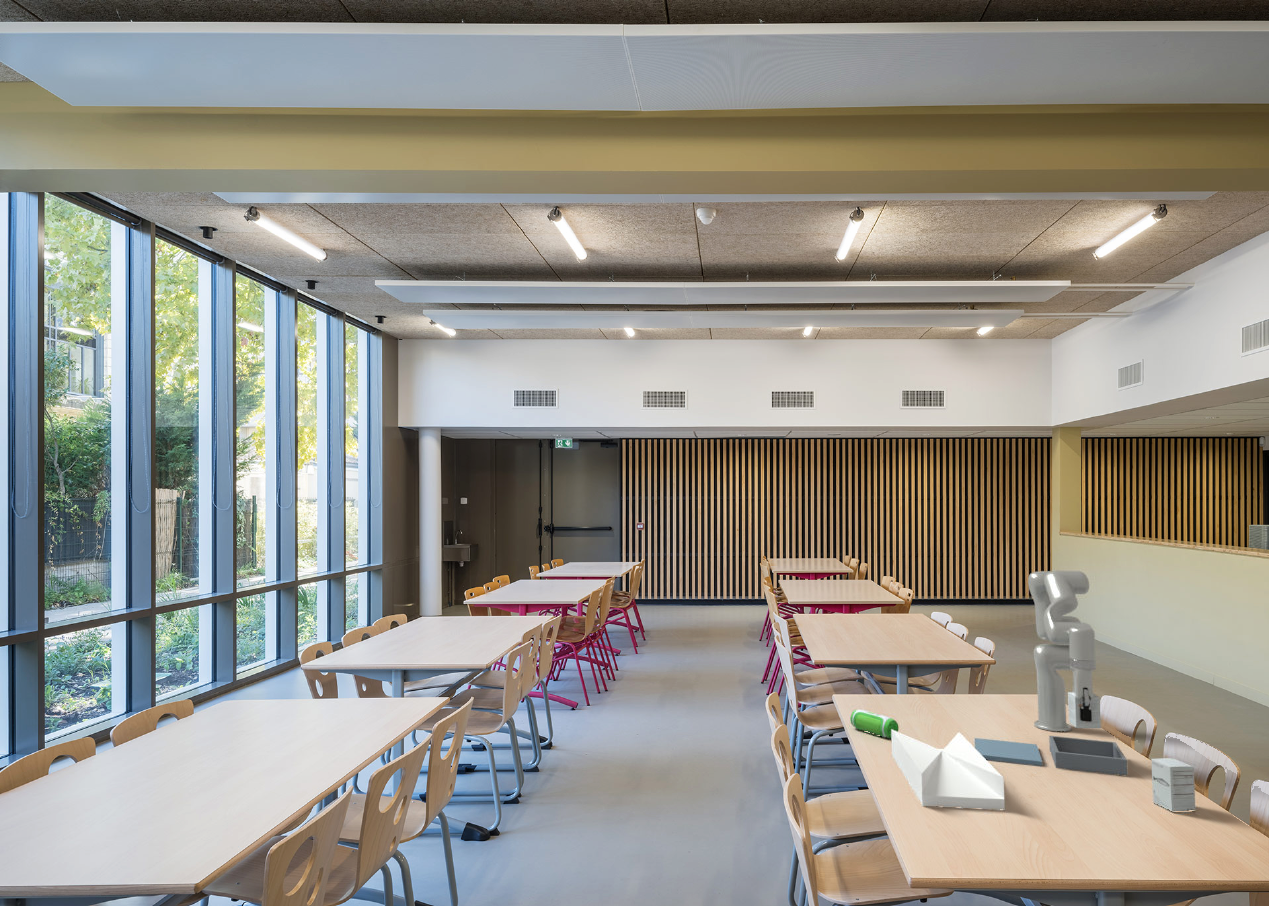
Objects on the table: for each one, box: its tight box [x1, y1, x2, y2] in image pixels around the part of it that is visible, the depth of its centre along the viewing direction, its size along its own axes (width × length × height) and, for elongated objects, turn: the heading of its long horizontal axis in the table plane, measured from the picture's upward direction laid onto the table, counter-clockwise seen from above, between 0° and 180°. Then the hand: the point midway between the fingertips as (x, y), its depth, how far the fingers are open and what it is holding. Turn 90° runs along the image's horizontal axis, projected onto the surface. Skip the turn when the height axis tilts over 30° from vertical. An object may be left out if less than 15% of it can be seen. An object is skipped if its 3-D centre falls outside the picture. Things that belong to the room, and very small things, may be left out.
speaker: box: [849, 709, 899, 739], centre depth 291 cm, size 18×7×8 cm, turn 33°
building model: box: [891, 729, 1005, 811], centre depth 241 cm, size 45×22×10 cm, turn 172°
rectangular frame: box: [1048, 735, 1129, 776], centre depth 258 cm, size 20×20×5 cm
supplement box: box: [1150, 757, 1196, 812], centre depth 220 cm, size 7×7×13 cm
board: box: [974, 737, 1043, 767], centre depth 267 cm, size 20×20×2 cm
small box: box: [1067, 691, 1102, 729], centre depth 260 cm, size 8×6×10 cm
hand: (1084, 717), depth 259 cm, fingers closed on small box, 6 cm apart
